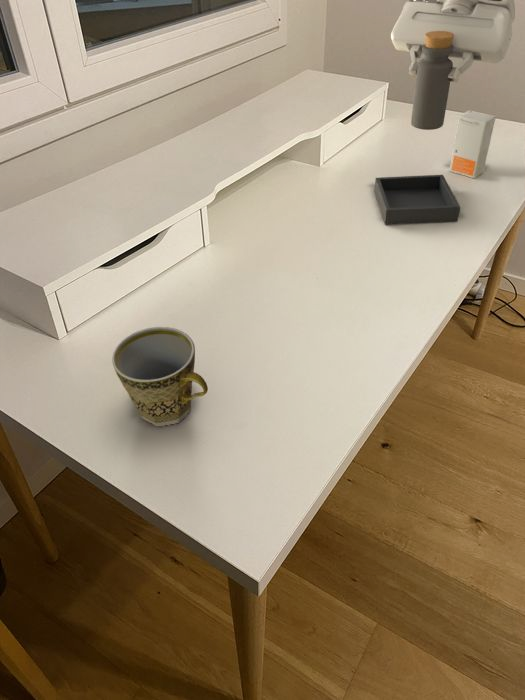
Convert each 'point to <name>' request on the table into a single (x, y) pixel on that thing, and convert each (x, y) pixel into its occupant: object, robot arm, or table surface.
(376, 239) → the table surface
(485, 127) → the cosmetic box
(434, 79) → the bottle
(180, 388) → the ceramic cup
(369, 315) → the table surface
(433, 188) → the tray
